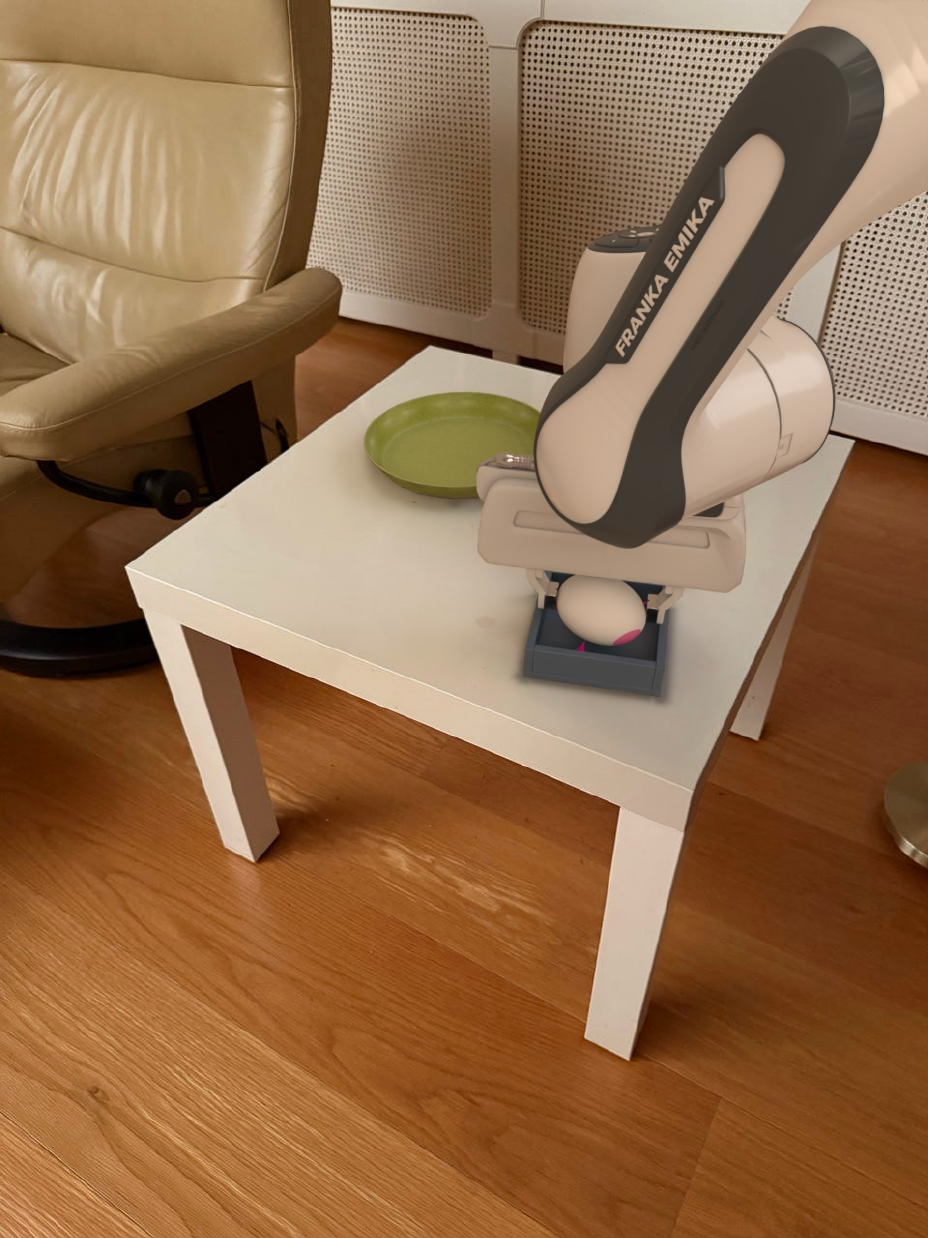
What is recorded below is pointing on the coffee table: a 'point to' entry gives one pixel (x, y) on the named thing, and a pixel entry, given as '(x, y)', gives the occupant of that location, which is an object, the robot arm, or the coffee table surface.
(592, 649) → the slate tray
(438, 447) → the saucer
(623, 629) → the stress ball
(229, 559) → the coffee table surface
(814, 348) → the robot arm
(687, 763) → the coffee table surface
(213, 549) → the coffee table surface
